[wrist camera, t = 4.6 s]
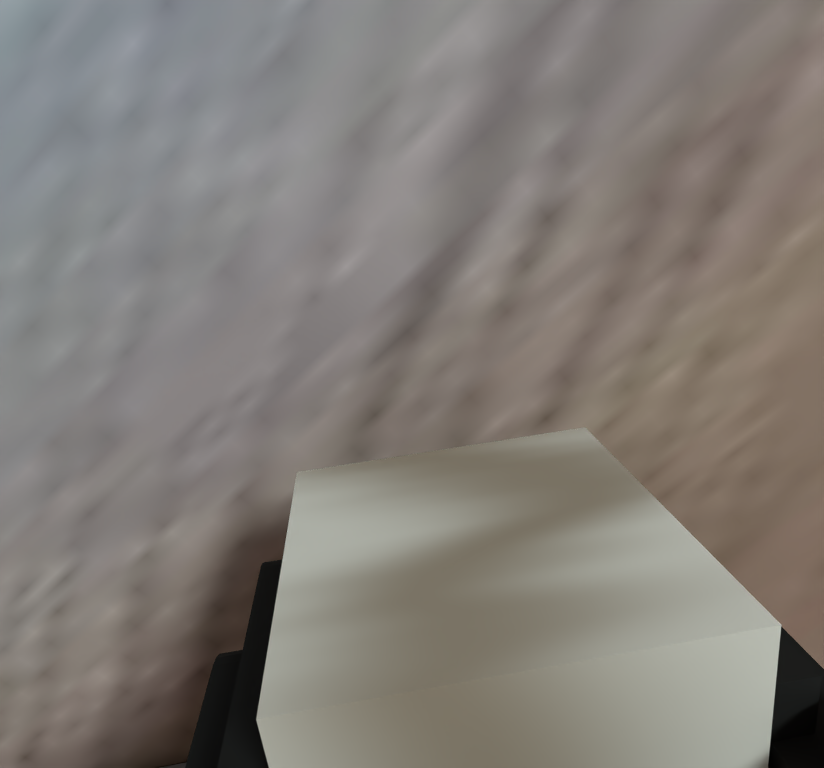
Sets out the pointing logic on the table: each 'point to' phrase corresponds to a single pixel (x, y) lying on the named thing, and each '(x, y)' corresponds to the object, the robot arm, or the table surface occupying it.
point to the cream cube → (508, 620)
